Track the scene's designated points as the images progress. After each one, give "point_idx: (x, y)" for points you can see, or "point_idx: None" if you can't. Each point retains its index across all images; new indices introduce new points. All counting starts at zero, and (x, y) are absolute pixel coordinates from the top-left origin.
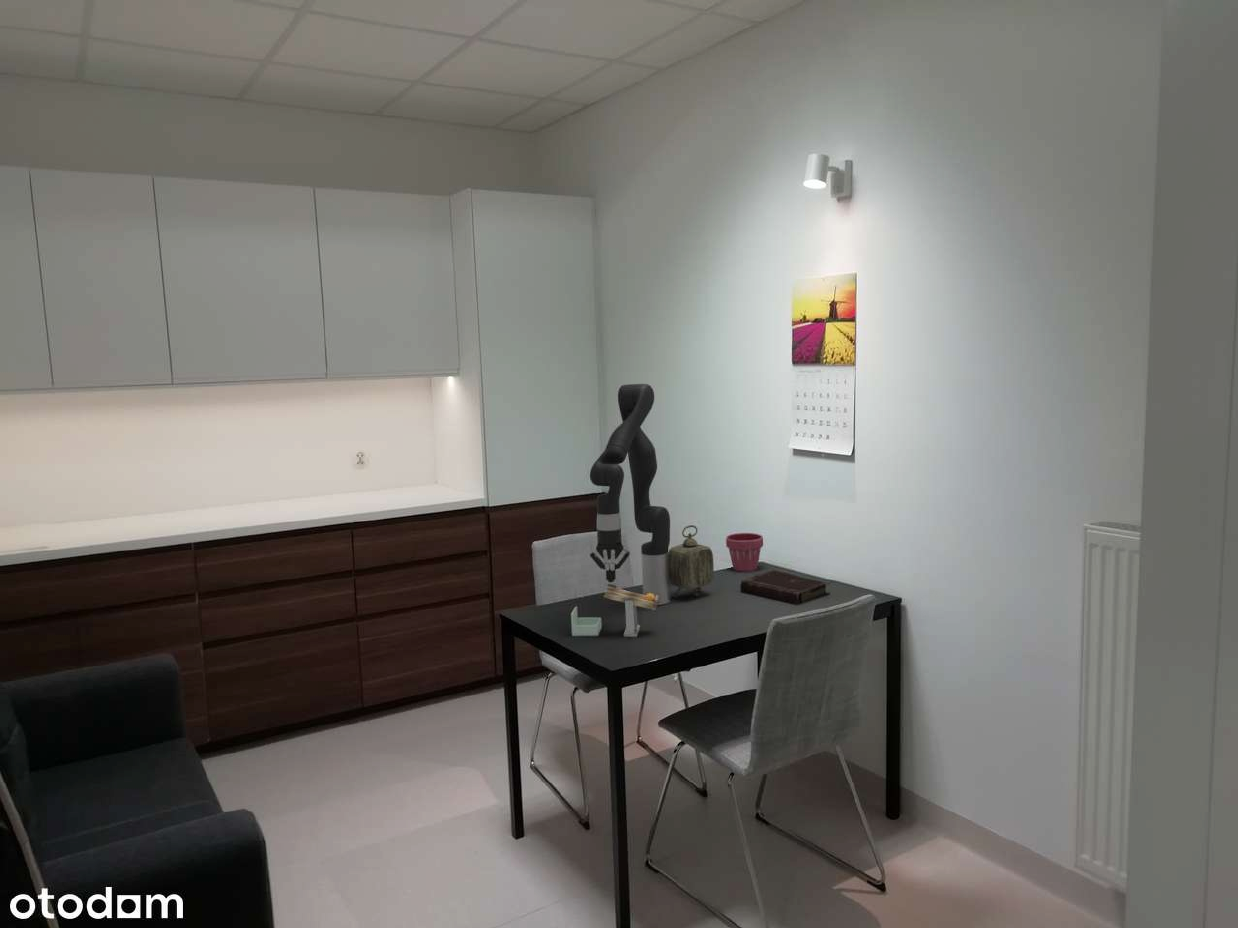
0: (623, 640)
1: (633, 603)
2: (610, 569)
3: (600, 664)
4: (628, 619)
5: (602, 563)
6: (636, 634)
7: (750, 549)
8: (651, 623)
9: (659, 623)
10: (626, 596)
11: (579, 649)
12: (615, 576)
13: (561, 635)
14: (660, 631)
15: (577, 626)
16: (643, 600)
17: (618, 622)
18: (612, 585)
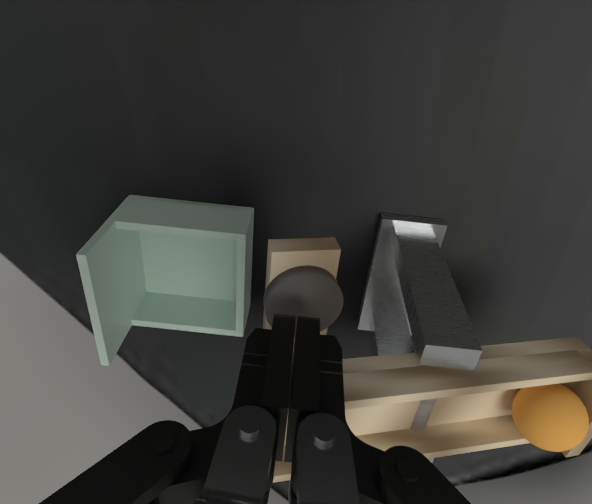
0: (353, 355)
1: None
2: (282, 415)
3: (284, 489)
4: None
5: (156, 486)
6: (410, 334)
7: None
8: (519, 165)
9: (562, 170)
10: None
11: (205, 404)
12: (340, 368)
13: None
14: (525, 283)
15: (153, 323)
16: (496, 445)
17: (338, 125)
18: (307, 300)
